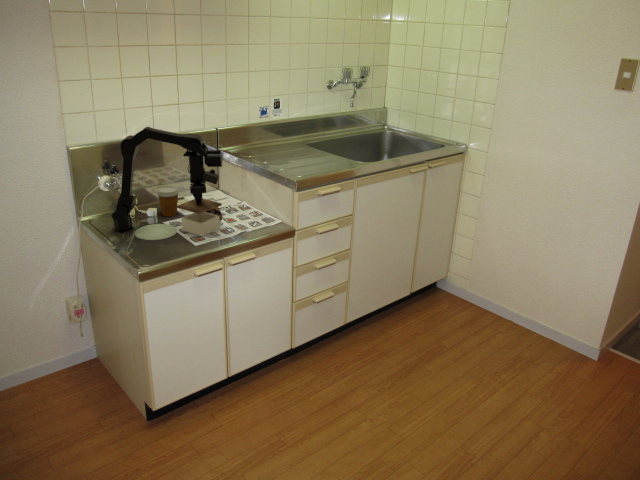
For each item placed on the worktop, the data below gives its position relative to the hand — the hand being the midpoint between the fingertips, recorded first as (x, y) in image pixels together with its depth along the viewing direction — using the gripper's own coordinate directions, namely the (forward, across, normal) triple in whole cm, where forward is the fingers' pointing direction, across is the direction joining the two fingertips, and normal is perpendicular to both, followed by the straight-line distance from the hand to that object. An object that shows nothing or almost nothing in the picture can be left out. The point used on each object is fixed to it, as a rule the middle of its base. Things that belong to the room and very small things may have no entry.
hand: (199, 203), depth 225 cm
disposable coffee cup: (+12, +21, +13) cm, 27 cm away
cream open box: (+12, 0, 0) cm, 12 cm away
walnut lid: (+2, 0, 0) cm, 2 cm away
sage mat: (+12, 0, +18) cm, 22 cm away
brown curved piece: (+13, +14, -5) cm, 19 cm away
